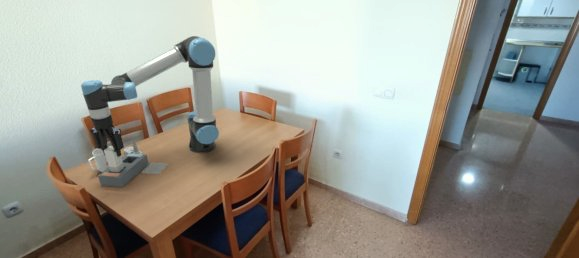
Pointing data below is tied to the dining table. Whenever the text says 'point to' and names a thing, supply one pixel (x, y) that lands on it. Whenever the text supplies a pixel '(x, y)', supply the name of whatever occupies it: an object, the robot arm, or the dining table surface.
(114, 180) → the dock
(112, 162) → the plug
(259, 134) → the dining table surface
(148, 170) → the mat
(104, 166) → the mug
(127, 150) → the electronic device
